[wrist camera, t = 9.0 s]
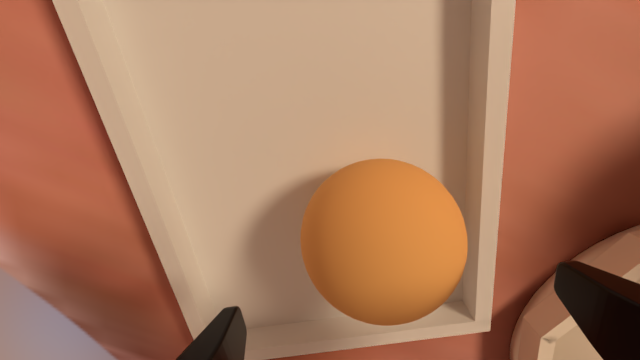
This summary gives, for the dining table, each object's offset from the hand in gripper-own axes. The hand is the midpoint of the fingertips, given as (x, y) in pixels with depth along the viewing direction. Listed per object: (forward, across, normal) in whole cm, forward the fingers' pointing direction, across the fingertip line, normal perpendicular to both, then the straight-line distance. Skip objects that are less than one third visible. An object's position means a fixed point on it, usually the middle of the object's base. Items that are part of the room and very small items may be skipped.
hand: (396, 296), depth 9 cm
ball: (+3, 0, 0) cm, 3 cm away
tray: (+7, +2, -2) cm, 7 cm away
